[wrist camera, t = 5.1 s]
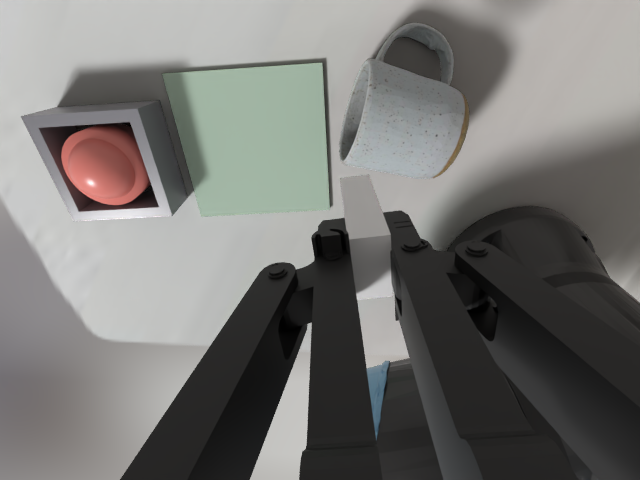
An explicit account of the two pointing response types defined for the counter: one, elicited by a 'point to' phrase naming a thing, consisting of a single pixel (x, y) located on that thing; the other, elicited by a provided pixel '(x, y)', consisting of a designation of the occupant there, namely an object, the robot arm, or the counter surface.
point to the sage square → (253, 137)
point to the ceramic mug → (405, 114)
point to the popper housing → (153, 144)
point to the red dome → (106, 163)
